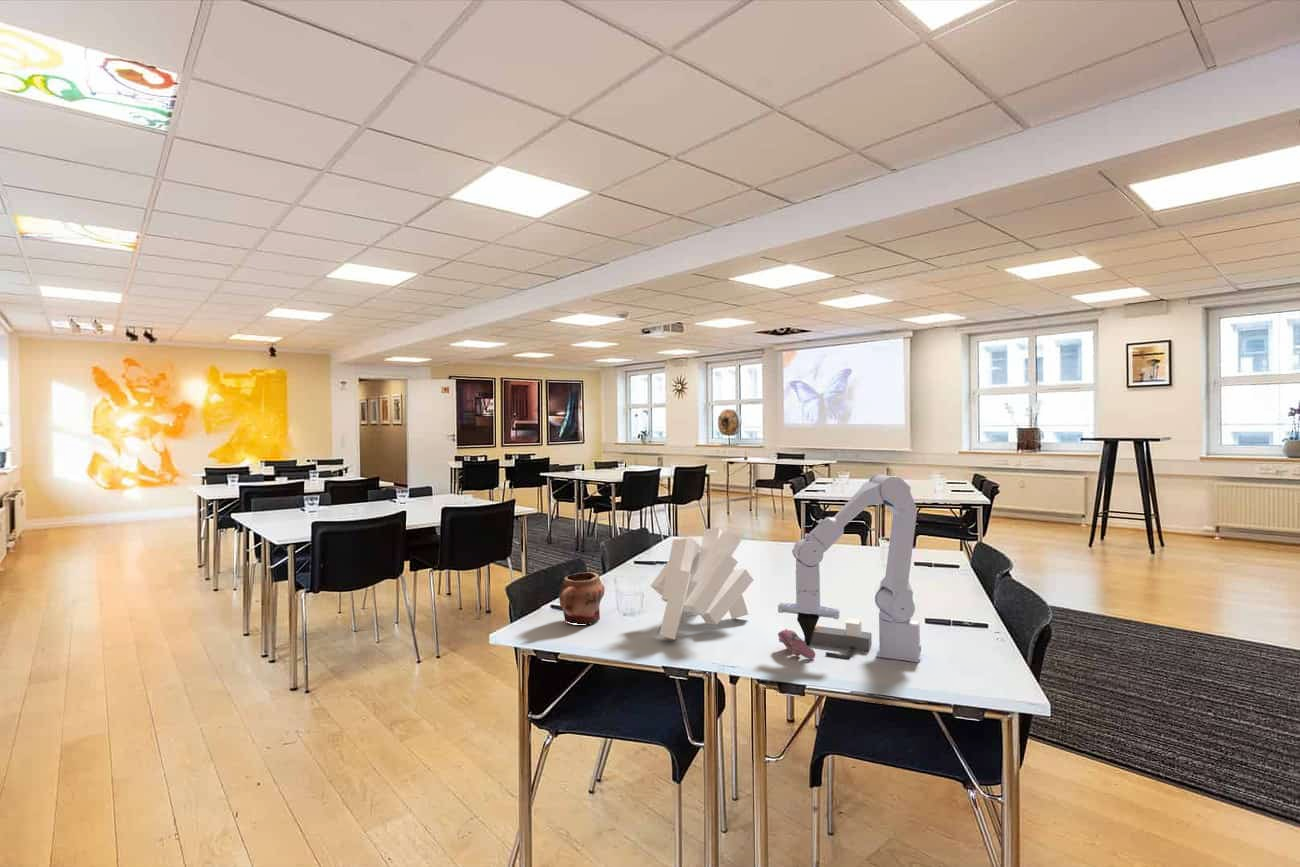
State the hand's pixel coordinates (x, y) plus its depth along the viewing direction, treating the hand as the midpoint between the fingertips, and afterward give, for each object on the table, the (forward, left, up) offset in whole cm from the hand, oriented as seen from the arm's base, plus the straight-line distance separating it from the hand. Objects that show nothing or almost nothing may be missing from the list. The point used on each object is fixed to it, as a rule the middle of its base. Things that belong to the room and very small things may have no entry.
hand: (808, 644), depth 151 cm
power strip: (-5, -8, -3) cm, 10 cm away
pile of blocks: (+33, -13, -3) cm, 36 cm away
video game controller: (+3, -1, -3) cm, 5 cm away
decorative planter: (+66, 0, -3) cm, 66 cm away
